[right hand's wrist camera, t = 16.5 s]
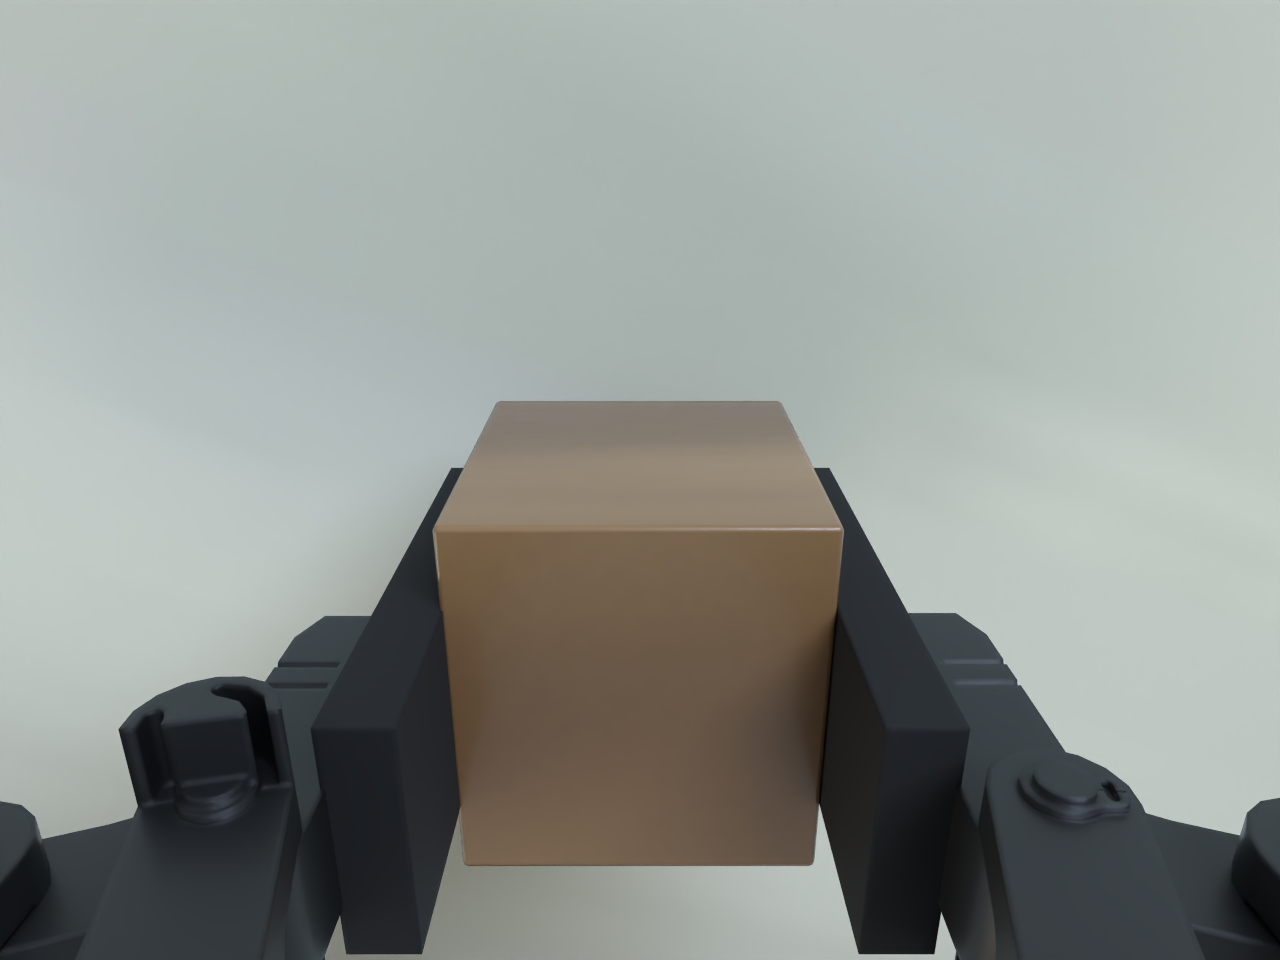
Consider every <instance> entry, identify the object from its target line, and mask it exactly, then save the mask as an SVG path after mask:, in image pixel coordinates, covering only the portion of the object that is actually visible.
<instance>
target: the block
mask: <svg viewBox="0 0 1280 960" xmlns="http://www.w3.org/2000/svg"><path fill="white" fill-rule="evenodd" d="M843 536H844V529H843V526H842V524H841V522H840V520H839V518H838V516H837V514H836V512H835V510H834V508H833V506H832V504H831V502H830V500H829V498H828V496H827V494H826V492H825V490H824V488H823V486H822V484H821V482H820V480H819V478H818V476H817V474H816V472H815V470H814V468H813V466H812V464H811V462H810V460H809V458H808V456H807V454H806V452H805V450H804V448H803V446H802V444H801V442H800V440H799V438H798V436H797V434H796V432H795V430H794V428H793V426H792V424H791V422H790V420H789V418H788V416H787V414H786V412H785V410H784V408H783V406H782V404H781V402H778V401H500V402H497V403H496V405H495V407H494V409H493V411H492V413H491V415H490V417H489V419H488V421H487V423H486V425H485V427H484V429H483V431H482V433H481V435H480V437H479V439H478V441H477V443H476V445H475V447H474V449H473V451H472V453H471V455H470V457H469V459H468V460H467V462H466V464H465V466H464V468H463V470H462V472H461V474H460V476H459V478H458V480H457V482H456V484H455V486H454V488H453V490H452V492H451V494H450V496H449V498H448V500H447V502H446V504H445V506H444V508H443V510H442V512H441V514H440V516H439V518H438V520H437V522H436V524H435V526H434V528H433V539H434V550H435V560H436V571H437V582H438V593H439V604H440V610H441V611H443V622H444V633H445V644H446V655H447V666H448V677H449V688H450V699H451V710H452V721H453V732H454V743H455V754H456V765H457V776H458V787H459V798H460V810H459V820H460V831H461V842H462V853H463V861H464V863H465V865H467V866H810V865H812V864H813V862H814V857H815V846H816V835H817V823H818V812H819V801H820V790H821V779H822V768H823V757H824V746H825V735H826V724H827V713H828V702H829V691H830V680H831V669H832V657H833V646H834V635H835V624H836V613H837V602H838V591H839V580H840V569H841V558H842V547H843Z"/></svg>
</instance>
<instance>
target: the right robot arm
mask: <svg viewBox="0 0 1280 960" xmlns="http://www.w3.org/2000/svg"><path fill="white" fill-rule="evenodd" d="M462 470H463V468H451V470H450V472H449V474H448V475H447V477H446V479H445V481H444V483H443V485H442V486H441V488H440V490H439V492H438V494H437V496H436V498H435V499H434V501H433V503H432V505H431V507H430V509H429V510H428V512H427V514H426V516H425V518H424V520H423V522H422V523H421V525H420V527H419V529H418V531H417V533H416V534H415V536H414V538H413V540H412V542H411V544H410V545H409V547H408V549H407V551H406V553H405V555H404V557H403V558H402V560H401V562H400V564H399V566H398V568H397V569H396V571H395V573H394V575H393V577H392V579H391V581H390V582H389V584H388V586H387V588H386V590H385V592H384V593H383V595H382V597H381V599H380V601H379V603H378V605H377V606H376V608H375V610H374V612H373V614H372V616H325V617H323V618H322V619H320V620H319V621H318V622H316V623H315V624H313V625H312V626H310V627H309V628H308V629H306V630H305V631H303V632H302V633H300V634H299V635H298V636H296V637H295V638H294V639H293V641H292V642H291V644H290V645H289V647H288V648H287V650H286V651H285V653H284V654H283V656H282V657H281V659H280V660H279V662H278V667H275V668H274V669H273V671H272V672H271V674H270V675H269V677H268V678H267V680H266V681H265V682H263V681H260V680H256V679H252V678H248V677H214V678H209V679H205V680H200V681H195V682H191V683H186V684H184V685H181V686H179V687H176V688H174V689H171V690H169V691H166V692H164V693H161V694H159V695H157V696H155V697H154V698H152V699H151V700H149V701H148V702H146V703H145V704H143V705H142V706H140V707H139V708H137V709H136V710H134V711H133V712H132V713H131V715H130V716H129V717H128V718H127V720H126V721H125V722H124V723H123V724H122V726H121V727H120V728H119V733H120V737H121V741H122V745H123V749H124V753H125V757H126V761H127V765H128V769H129V773H130V777H131V781H132V784H133V788H134V792H135V796H136V800H137V804H138V808H137V810H136V812H135V815H134V817H133V818H130V819H127V820H123V821H120V822H116V823H113V824H109V825H105V826H100V827H96V828H91V829H87V830H82V831H78V832H73V833H68V834H64V835H59V836H55V837H50V838H46V839H42V838H41V835H40V832H39V828H38V825H37V822H36V818H35V816H33V815H32V814H31V813H30V812H29V811H28V810H27V809H25V808H24V807H23V806H22V805H18V804H12V803H6V802H1V801H0V960H325V956H324V955H325V953H326V950H327V947H328V945H329V942H330V940H331V937H332V934H333V932H334V929H335V926H336V924H337V921H338V918H339V916H340V917H341V924H342V930H343V936H344V942H345V949H346V954H422V952H423V948H424V944H425V940H426V937H427V933H428V929H429V925H430V921H431V917H432V914H433V910H434V906H435V902H436V898H437V894H438V891H439V887H440V883H441V879H442V875H443V871H444V868H445V864H446V860H447V856H448V852H449V849H450V845H451V841H452V837H453V833H454V829H455V826H456V822H457V818H458V814H459V810H460V798H459V787H458V776H457V765H456V754H455V743H454V732H453V721H452V710H451V699H450V688H449V677H448V666H447V655H446V644H445V633H444V622H443V611H441V610H440V604H439V593H438V582H437V571H436V560H435V550H434V539H433V528H434V526H435V524H436V522H437V520H438V518H439V516H440V514H441V512H442V510H443V508H444V506H445V504H446V502H447V500H448V498H449V496H450V494H451V492H452V490H453V488H454V486H455V484H456V482H457V480H458V478H459V476H460V474H461V472H462ZM814 470H815V472H816V474H817V476H818V478H819V480H820V482H821V484H822V486H823V488H824V490H825V492H826V494H827V496H828V498H829V500H830V502H831V504H832V506H833V508H834V510H835V512H836V514H837V516H838V518H839V520H840V522H841V524H842V526H843V529H844V536H843V547H842V558H841V569H840V580H839V591H838V602H837V613H836V624H835V635H834V646H833V657H832V669H831V680H830V691H829V702H828V713H827V724H826V735H825V746H824V757H823V768H822V779H821V790H820V801H819V804H820V808H821V812H822V815H823V819H824V823H825V827H826V831H827V834H828V838H829V842H830V846H831V850H832V854H833V857H834V861H835V865H836V869H837V873H838V877H839V880H840V884H841V888H842V892H843V896H844V899H845V903H846V907H847V911H848V915H849V919H850V922H851V926H852V930H853V934H854V938H855V942H856V945H857V949H858V953H859V954H934V953H935V947H936V940H937V934H938V928H939V922H940V915H941V912H942V915H943V917H944V920H945V922H946V925H947V928H948V930H949V933H950V936H951V938H952V941H953V944H954V946H955V949H956V956H955V960H1280V798H1277V799H1271V800H1265V801H1260V802H1259V803H1258V804H1257V805H1256V806H1255V807H1253V808H1252V809H1251V810H1250V811H1249V812H1248V813H1247V815H1246V818H1245V821H1244V825H1243V828H1242V831H1241V834H1240V836H1239V835H1235V834H1230V833H1225V832H1221V831H1216V830H1212V829H1207V828H1202V827H1198V826H1193V825H1189V824H1184V823H1179V822H1175V821H1171V820H1167V819H1164V818H1160V817H1157V816H1153V815H1150V814H1147V813H1145V811H1144V808H1143V806H1142V804H1141V803H1140V801H1139V800H1138V799H1137V797H1136V796H1135V794H1134V793H1133V791H1132V790H1131V789H1130V787H1129V786H1128V785H1127V784H1126V783H1124V782H1123V781H1122V780H1120V779H1119V778H1118V777H1117V776H1115V775H1114V774H1113V773H1111V772H1110V771H1109V770H1107V769H1106V768H1104V767H1102V766H1100V765H1098V764H1096V763H1093V762H1091V761H1089V760H1087V759H1085V758H1083V757H1080V756H1078V755H1074V754H1070V753H1066V752H1065V750H1064V749H1063V747H1062V746H1061V745H1060V743H1059V742H1058V740H1057V739H1056V737H1055V736H1054V734H1053V733H1052V731H1051V730H1050V728H1049V727H1048V725H1047V724H1046V722H1045V721H1044V719H1043V718H1042V716H1041V715H1040V713H1039V712H1038V710H1037V709H1036V707H1035V706H1034V704H1033V703H1032V701H1031V700H1030V698H1029V697H1028V695H1027V694H1026V692H1025V691H1024V690H1023V688H1022V687H1021V685H1017V679H1016V678H1015V676H1014V675H1013V673H1012V672H1011V670H1010V669H1009V667H1008V666H1007V664H1003V658H1002V657H1001V655H1000V654H999V652H998V651H997V649H996V648H995V646H994V645H993V643H992V642H991V640H990V639H989V637H988V636H987V635H986V634H985V633H984V632H982V631H981V630H979V629H978V628H976V627H975V626H973V625H972V624H971V623H969V622H968V621H966V620H965V619H963V618H962V617H961V616H959V615H958V614H956V613H908V612H907V611H906V609H905V607H904V605H903V603H902V601H901V599H900V598H899V596H898V594H897V592H896V590H895V588H894V587H893V585H892V583H891V581H890V579H889V577H888V576H887V574H886V572H885V570H884V568H883V566H882V564H881V563H880V561H879V559H878V557H877V555H876V553H875V552H874V550H873V548H872V546H871V544H870V542H869V540H868V539H867V537H866V535H865V533H864V531H863V529H862V528H861V526H860V524H859V522H858V520H857V518H856V517H855V515H854V513H853V511H852V509H851V507H850V505H849V504H848V502H847V500H846V498H845V496H844V494H843V493H842V491H841V489H840V487H839V485H838V483H837V481H836V480H835V478H834V476H833V474H832V472H831V470H830V469H829V468H814Z"/></svg>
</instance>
